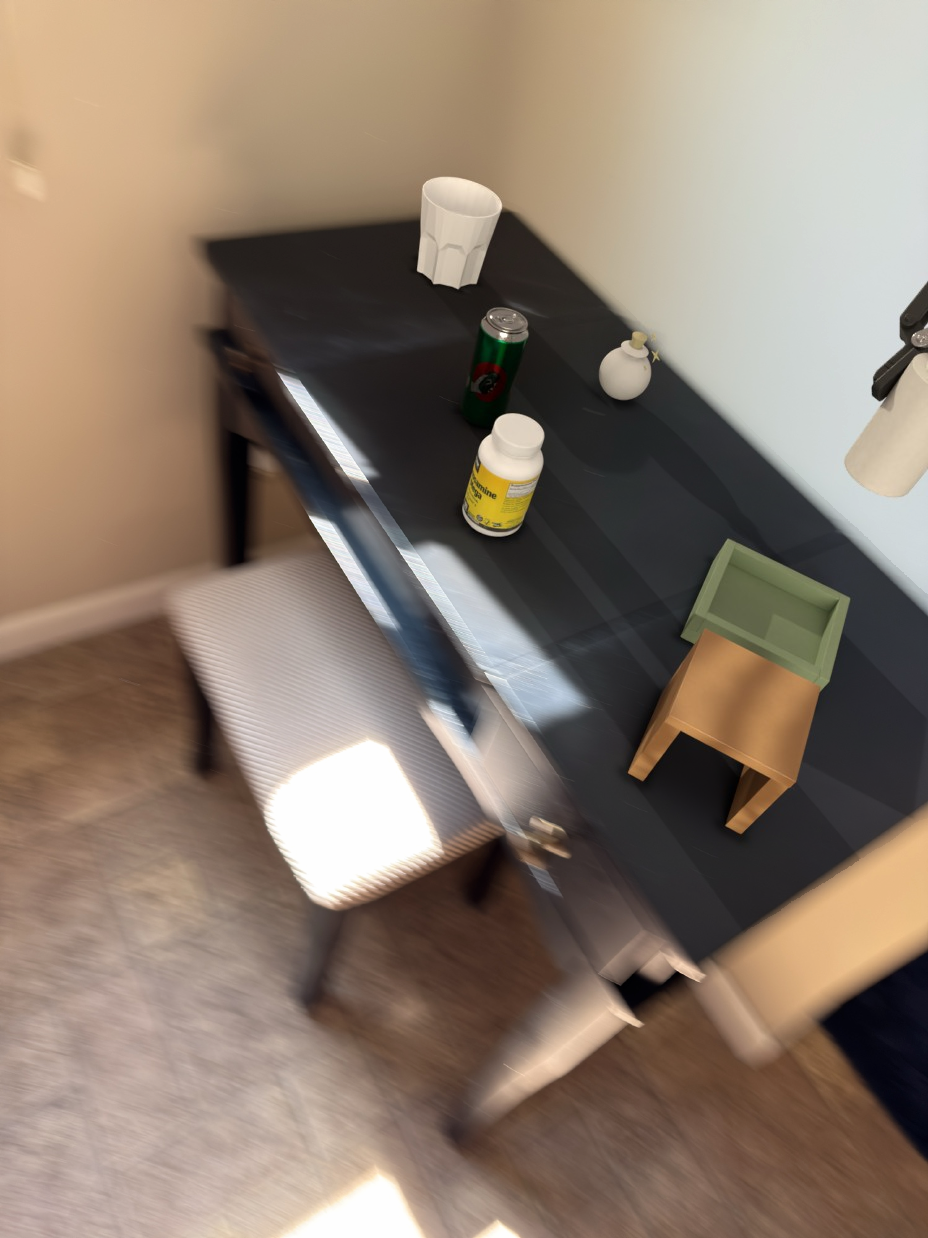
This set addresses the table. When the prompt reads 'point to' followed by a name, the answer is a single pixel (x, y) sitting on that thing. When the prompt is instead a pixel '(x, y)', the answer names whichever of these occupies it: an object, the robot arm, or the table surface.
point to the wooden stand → (735, 720)
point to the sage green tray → (770, 612)
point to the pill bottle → (504, 476)
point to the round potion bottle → (627, 368)
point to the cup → (455, 229)
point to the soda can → (494, 366)
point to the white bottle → (895, 437)
